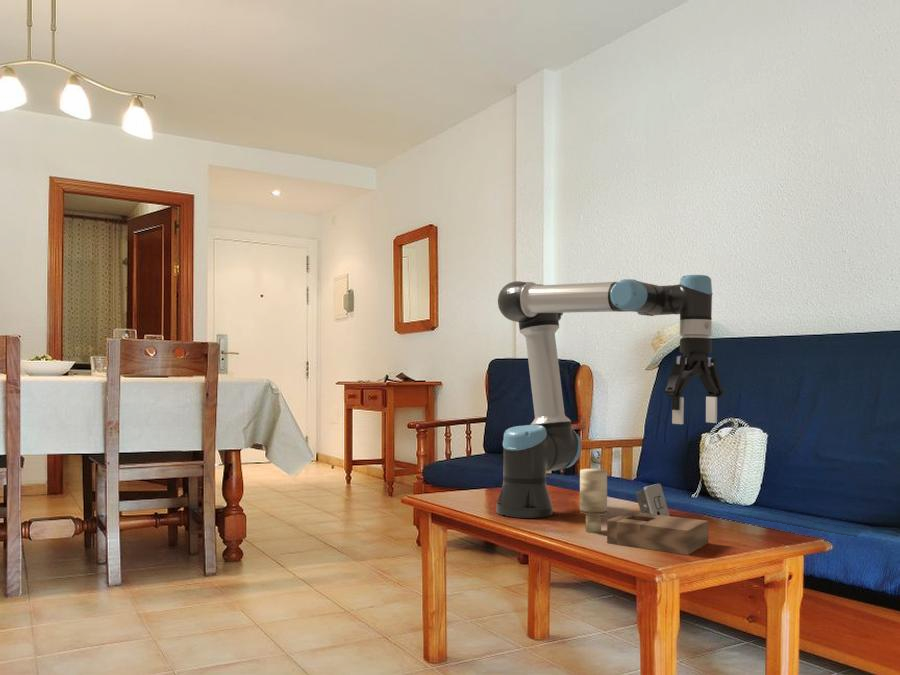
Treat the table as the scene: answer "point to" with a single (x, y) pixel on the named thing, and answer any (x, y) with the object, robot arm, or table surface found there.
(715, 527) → the table surface
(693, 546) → the board
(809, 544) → the table surface
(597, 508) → the leg peg
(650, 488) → the electrical switch
